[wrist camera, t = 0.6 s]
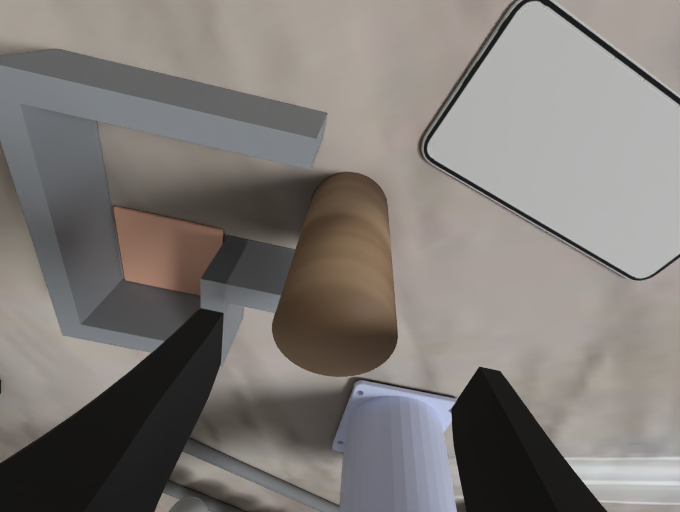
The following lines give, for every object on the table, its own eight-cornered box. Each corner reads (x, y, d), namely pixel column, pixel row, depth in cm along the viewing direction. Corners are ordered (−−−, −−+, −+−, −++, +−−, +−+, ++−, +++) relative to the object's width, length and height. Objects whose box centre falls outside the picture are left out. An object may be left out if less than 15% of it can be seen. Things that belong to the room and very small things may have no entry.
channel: (288, 326, 24) (275, 376, 21) (106, 289, 24) (62, 335, 20) (327, 113, 16) (316, 138, 13) (57, 49, 16) (-26, 58, 12)
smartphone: (529, -21, 13) (790, 176, 16) (523, -20, 14) (776, 171, 17) (412, 155, 17) (640, 287, 20) (411, 150, 18) (633, 280, 21)
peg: (376, 248, 20) (378, 386, 13) (305, 232, 20) (266, 364, 13) (397, 182, 18) (414, 303, 11) (318, 164, 18) (279, 274, 10)
